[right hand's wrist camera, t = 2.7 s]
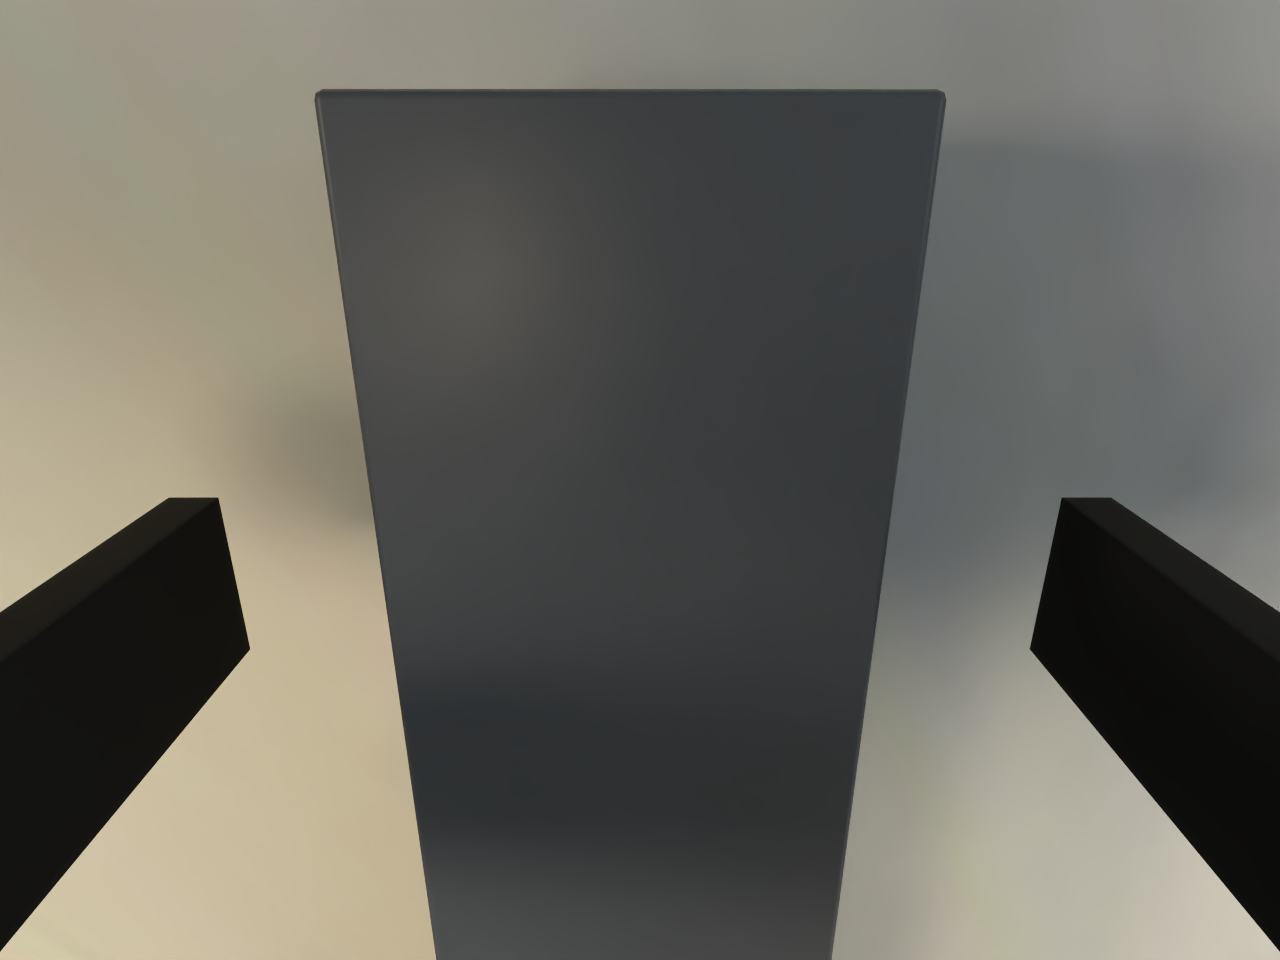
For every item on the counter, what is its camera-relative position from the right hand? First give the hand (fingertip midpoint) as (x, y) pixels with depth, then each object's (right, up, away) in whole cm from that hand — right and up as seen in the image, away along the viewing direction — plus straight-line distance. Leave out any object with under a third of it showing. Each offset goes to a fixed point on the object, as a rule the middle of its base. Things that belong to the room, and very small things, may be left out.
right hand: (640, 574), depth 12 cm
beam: (0, -31, +17) cm, 35 cm away
